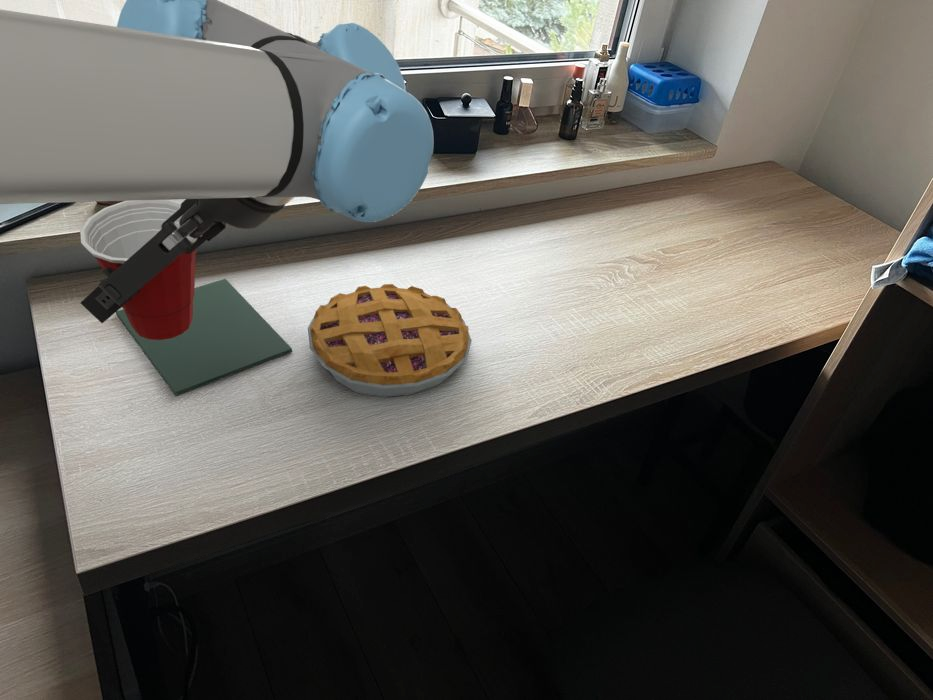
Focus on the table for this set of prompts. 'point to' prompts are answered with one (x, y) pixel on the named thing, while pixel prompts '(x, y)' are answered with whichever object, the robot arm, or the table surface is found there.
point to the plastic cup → (168, 293)
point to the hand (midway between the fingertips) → (127, 283)
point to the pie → (389, 340)
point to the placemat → (212, 340)
